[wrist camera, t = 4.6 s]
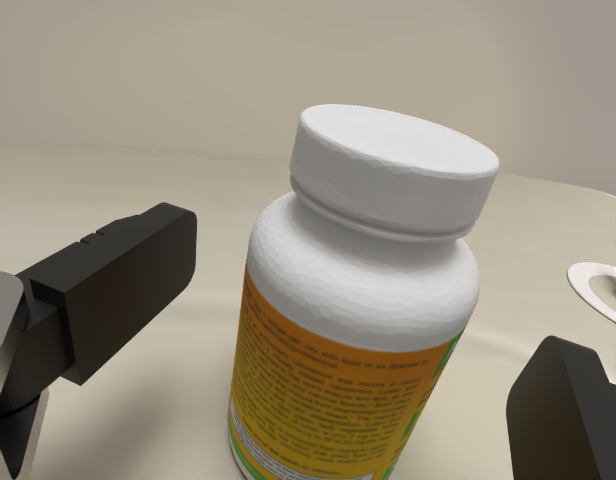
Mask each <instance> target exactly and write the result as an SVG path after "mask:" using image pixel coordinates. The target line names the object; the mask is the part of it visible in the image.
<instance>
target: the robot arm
mask: <svg viewBox="0 0 616 480" xmlns="http://www.w3.org/2000/svg"><path fill="white" fill-rule="evenodd" d="M196 237H197V217H196V215H195V213H194V212H192V211H189V210H186V209H183V208H180V207H177V206H174V205H171V204H169V203H165V202H163V203H160V204H158V205H156V206H154V207H153V208H151V209H149V210H147V211H146V212H144V213H142V214H140V215H134V216H130V217H127V218H123V219H119V220H115V221H113V222H111V223H109V224H108V225H106V226H104V227H102V228H100V229H99V230H97V231H96V233H95V234H94V233H91V234H89V235H88V236H86V237H84V238H82V239H81V240H80V242H75V243H73V244H71V245H69V246H67V247H66V248H64V249H62V250H60V251H58V252H56V253H55V254H53V255H51V256H49V257H47V258H45V259H44V260H42V261H40V262H38V263H36V264H34V265H33V266H31V267H29V268H27V269H25V270H24V271H22V272H20V273H18V274H16V275H12V274H9V273H6V272H1V271H0V480H29V476H30V472H31V468H32V464H33V460H34V455H35V451H36V447H37V443H38V439H39V435H40V431H41V427H42V423H43V419H44V414H45V410H46V406H47V402H48V398H49V388H48V386H49V385H50V384H51V383H53V382H54V381H55V380H56V379H57V378H58V377H60V376H61V377H63V378H65V379H67V380H69V381H71V382H73V383H76V384H78V385H80V386H81V385H83V384H84V383H85V382H86V381H87V380H88V379H89V378H90V377H91V376H92V375H93V374H94V373H95V372H96V371H98V370H99V369H100V368H101V367H102V366H103V365H104V364H105V363H106V362H107V361H108V360H109V359H110V358H111V357H113V356H114V355H115V354H116V353H117V352H118V351H119V350H120V349H121V348H122V347H123V346H124V345H125V344H126V343H128V342H129V341H130V340H131V339H132V338H133V337H134V336H135V335H136V334H137V333H138V332H139V331H140V330H141V329H143V328H144V327H145V326H146V325H147V324H148V323H149V322H150V321H151V320H152V319H153V318H154V317H155V316H156V315H158V314H159V313H160V312H161V311H162V310H163V309H164V308H165V307H166V306H167V305H168V304H169V303H170V302H171V301H173V300H174V299H175V298H176V297H177V296H178V295H179V294H180V293H181V292H182V291H183V290H184V289H185V288H186V287H187V286H188V284H189V283H190V281H191V279H192V277H193V274H194V271H195V264H196ZM506 418H507V426H508V435H509V443H510V452H511V460H512V469H513V477H514V480H616V385H615V384H612V383H610V382H609V380H608V378H607V375H606V373H605V371H604V368H603V366H602V363H601V361H600V359H599V356H598V354H597V353H596V352H595V351H594V350H593V349H590V348H587V347H585V346H582V345H579V344H576V343H573V342H570V341H567V340H564V339H561V338H558V337H555V336H548V337H546V338H545V339H544V340H543V341H542V342H541V344H540V345H539V347H538V348H537V350H536V351H535V353H534V354H533V356H532V357H531V359H530V360H529V362H528V363H527V365H526V366H525V368H524V369H523V371H522V372H521V374H520V375H519V377H518V378H517V380H516V381H515V383H514V384H513V386H512V388H511V390H510V393H509V396H508V400H507V406H506Z"/></svg>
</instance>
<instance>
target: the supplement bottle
mask: <svg viewBox="0 0 616 480" xmlns="http://www.w3.org/2000/svg"><path fill="white" fill-rule="evenodd" d="M498 169H499V160H498V158H497V156H496V155H495V154H494V153H493V152H492V151H491V150H490V149H488V148H487V147H485V146H484V145H482V144H481V143H479V142H477V141H475V140H473V139H472V138H470V137H468V136H466V135H463V134H461V133H459V132H457V131H454V130H452V129H449V128H447V127H444V126H441V125H439V124H436V123H433V122H429V121H426V120H423V119H419V118H416V117H412V116H408V115H404V114H400V113H396V112H392V111H387V110H381V109H375V108H369V107H363V106H354V105H353V106H352V105H337V104H335V105H334V104H328V105H318V106H313V107H310V108H308V109H306V110H304V111H303V112H302V114H301V116H300V118H299V122H298V128H297V133H296V138H295V144H294V148H293V153H292V157H291V161H290V172H291V176H290V182H291V186H292V188H293V190H294V191H292V192H290V193H287V194H285V195H283V196H281V197H279V198H277V199H276V200H275V201H273V202H272V203H271V204H269V205H268V206H267V207H266V208H265V209H264V210H263V211H262V213H261V214H260V216H259V217H258V218H257V220H256V222H255V224H254V226H253V229H252V232H251V236H250V240H249V246H248V252H247V259H246V266H245V275H244V284H243V293H242V301H241V310H240V318H239V327H238V335H237V343H236V352H235V360H234V368H233V376H232V384H231V392H230V400H229V411H228V433H229V439H230V444H231V447H232V450H233V453H234V456H235V459H236V461H237V463H238V465H239V467H240V469H241V470H242V472H243V473H244V475H245V476H246V477H247V479H248V480H387V479H388V477H389V475H390V474H391V472H392V470H393V469H394V466H395V465H396V463H397V460H398V458H399V456H400V454H401V452H402V450H403V448H404V446H405V444H406V442H407V440H408V438H409V437H410V435H411V433H412V431H413V429H414V427H415V424H416V422H417V420H418V418H419V416H420V414H421V412H422V411H423V409H424V407H425V405H426V403H427V401H428V399H429V397H430V395H431V393H432V391H433V389H434V387H435V385H436V383H437V381H438V379H439V377H440V375H441V373H442V371H443V369H444V367H445V366H446V364H447V362H448V360H449V358H450V356H451V354H452V352H453V350H454V348H455V346H456V344H457V342H458V341H459V339H460V337H461V335H462V333H463V331H464V329H465V327H466V325H467V323H468V321H469V319H470V317H471V315H472V312H473V310H474V308H475V306H476V303H477V301H478V296H479V289H480V278H479V271H478V267H477V264H476V261H475V258H474V256H473V254H472V252H471V250H470V249H469V247H468V246H467V244H466V243H465V242H464V240H463V239H462V238H461V237H463V236H465V235H467V234H468V233H469V232H470V231H471V230H472V228H473V226H474V224H475V221H476V220H477V219H478V217H479V215H480V213H481V210H482V208H483V206H484V204H485V201H486V199H487V197H488V194H489V192H490V189H491V187H492V184H493V182H494V180H495V177H496V175H497V172H498Z"/></svg>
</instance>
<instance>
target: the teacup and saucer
mask: <svg viewBox="0 0 616 480" xmlns="http://www.w3.org/2000/svg"><path fill="white" fill-rule="evenodd" d="M567 275H568V279H569V281H570V283H571V285H572V286H573V288H574V289H575V290H576V292H577V293H578V294H579V295H580V296H581V297H582V298H583V299H584V300H585V301H586V302H588V303H589V304H590V305H591V306H592V307H594V308H595V309H596V310H598V311H599V312H600V313H602V314H603V315H605V316H606V317H608V318H609V319H611V320H612V321H614V322H616V312H615V311H613V310H612V309H610V308H609V307H608V306H606V305H605V304H604V303H603V302H601V301H600V300H599V299H598V298H597V297H596V296H595V295H594V293H593V292H592V291H591V289H590V287H589V285H588V280H589V278H590V277H592V276H595V275H609V276H614V277H616V267H613V266H610V265H605V264H600V263H591V262H582V263H577V264H574V265H572V266H571V267H570V268H569V269H568V272H567Z"/></svg>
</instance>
